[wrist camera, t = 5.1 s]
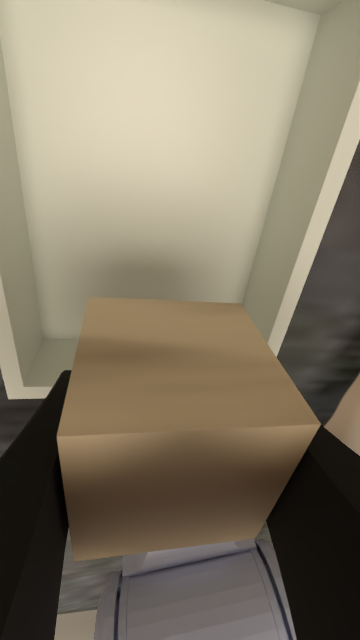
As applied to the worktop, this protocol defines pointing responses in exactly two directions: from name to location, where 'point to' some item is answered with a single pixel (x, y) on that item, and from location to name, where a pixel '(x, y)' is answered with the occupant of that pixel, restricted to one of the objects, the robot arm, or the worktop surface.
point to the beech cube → (175, 427)
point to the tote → (165, 160)
